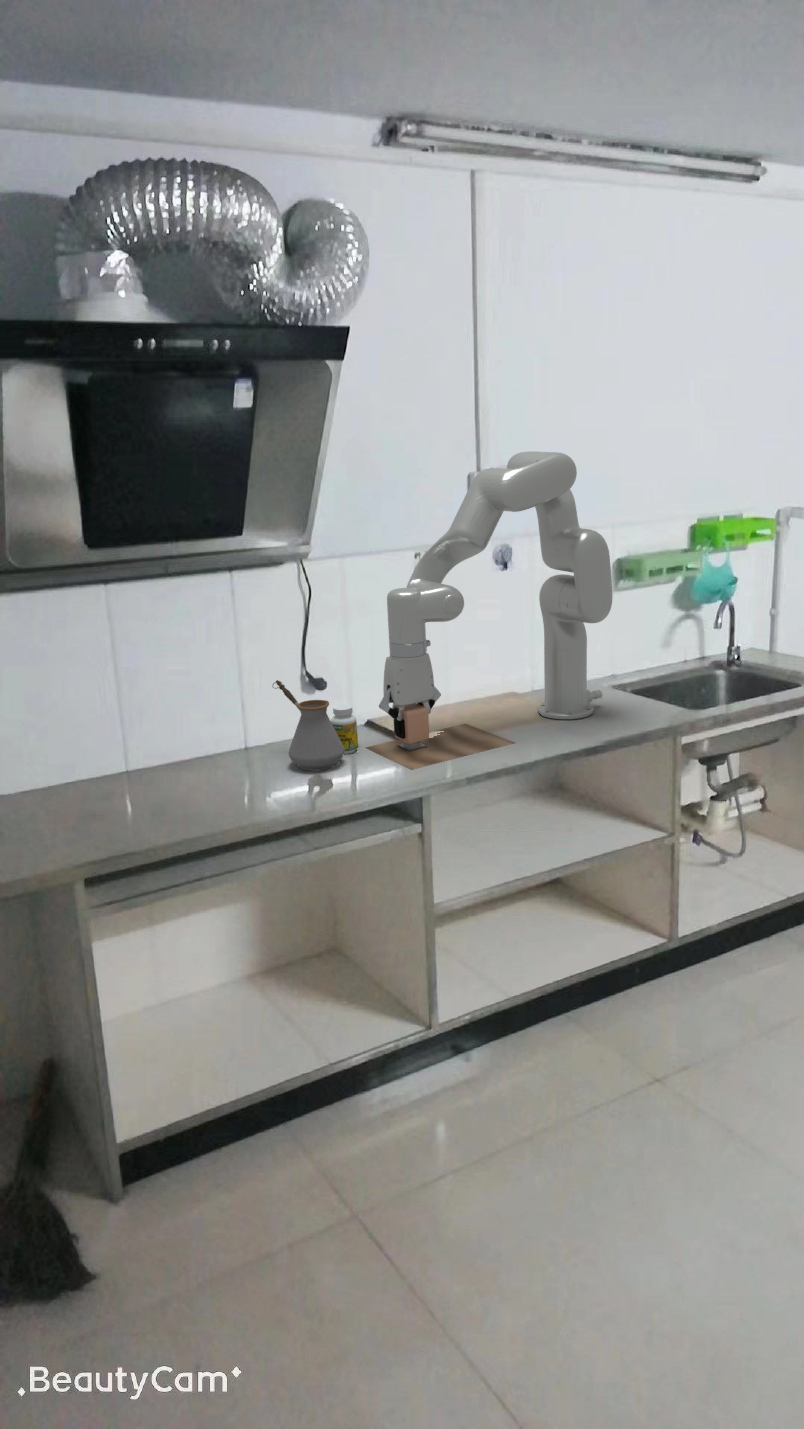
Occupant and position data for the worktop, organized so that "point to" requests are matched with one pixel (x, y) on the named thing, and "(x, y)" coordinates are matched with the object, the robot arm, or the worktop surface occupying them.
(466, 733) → the board
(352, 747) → the supplement bottle
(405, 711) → the tan wooden brick
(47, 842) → the worktop surface
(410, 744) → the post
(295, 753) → the coffee pot
